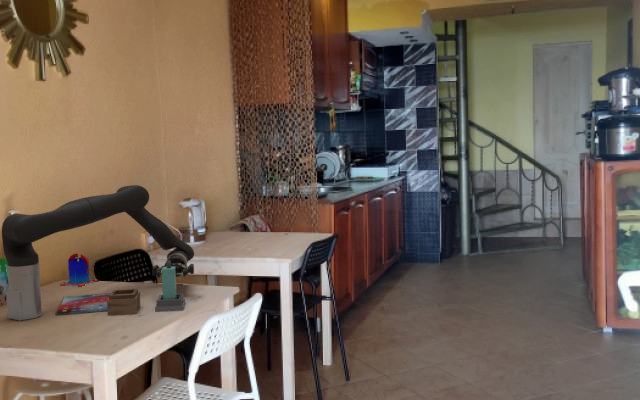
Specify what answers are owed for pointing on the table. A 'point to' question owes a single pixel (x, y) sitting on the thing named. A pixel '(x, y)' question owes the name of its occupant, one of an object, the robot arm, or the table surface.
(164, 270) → the plug block
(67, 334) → the table surface
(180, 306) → the lower dock
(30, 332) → the table surface
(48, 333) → the table surface
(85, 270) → the fantasy tower
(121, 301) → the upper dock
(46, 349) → the table surface
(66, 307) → the tablet
